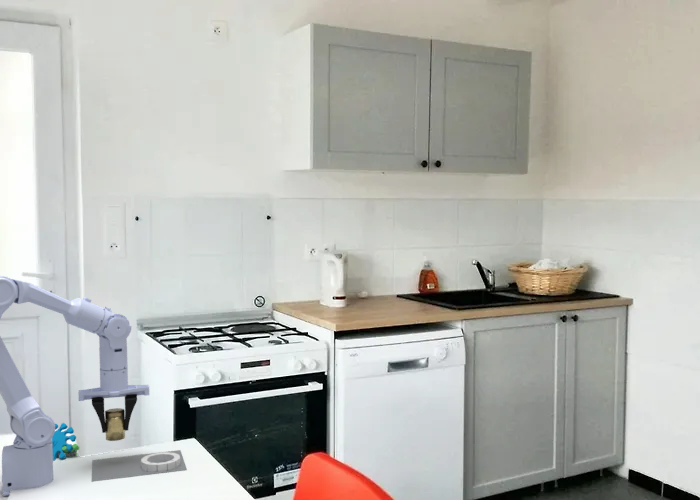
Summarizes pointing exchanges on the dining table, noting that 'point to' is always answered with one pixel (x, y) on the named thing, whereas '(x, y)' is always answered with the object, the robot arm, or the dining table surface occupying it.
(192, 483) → the dining table surface
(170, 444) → the dining table surface
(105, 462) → the housing plate
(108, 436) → the brass shaft
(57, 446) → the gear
